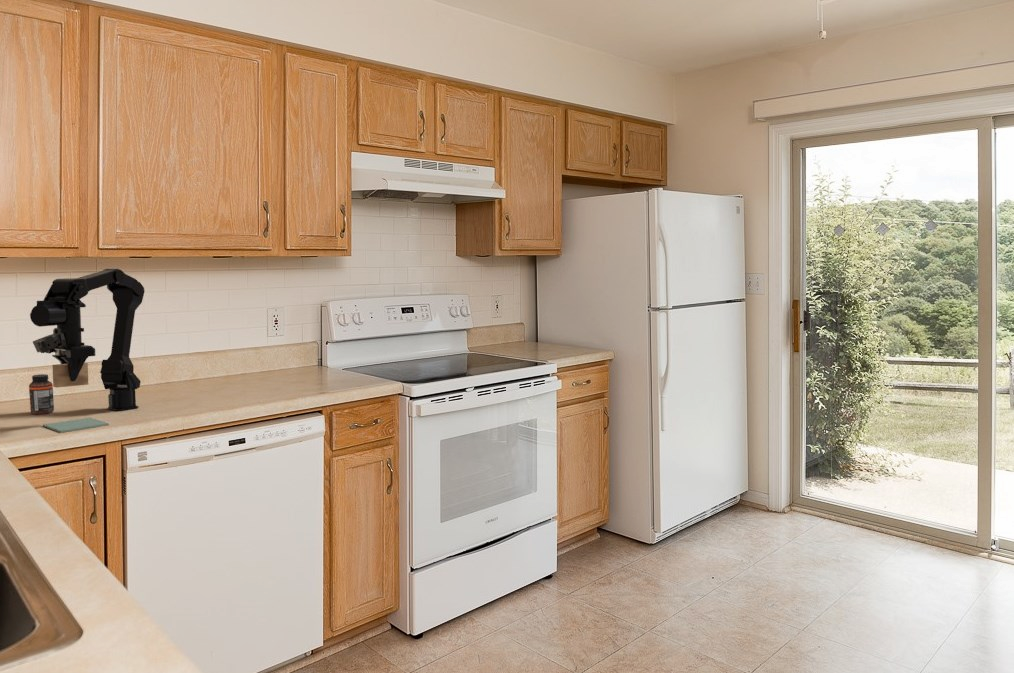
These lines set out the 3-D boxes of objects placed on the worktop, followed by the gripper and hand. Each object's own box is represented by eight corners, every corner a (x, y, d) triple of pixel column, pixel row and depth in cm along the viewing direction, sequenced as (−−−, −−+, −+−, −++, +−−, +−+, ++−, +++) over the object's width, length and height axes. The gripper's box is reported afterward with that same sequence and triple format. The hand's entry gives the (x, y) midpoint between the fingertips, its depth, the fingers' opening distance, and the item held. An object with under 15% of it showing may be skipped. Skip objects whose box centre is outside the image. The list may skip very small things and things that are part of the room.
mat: (89, 419, 209) (89, 417, 209) (108, 424, 202) (108, 423, 202) (43, 426, 200) (42, 424, 200) (61, 432, 192) (60, 430, 192)
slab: (84, 383, 206) (83, 362, 206) (88, 384, 205) (87, 363, 204) (53, 386, 200) (52, 364, 200) (56, 387, 199) (56, 365, 198)
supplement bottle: (31, 411, 218) (28, 374, 217) (54, 410, 221) (52, 373, 220) (30, 415, 213) (27, 377, 212) (54, 413, 216) (51, 375, 215)
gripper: (23, 324, 201) (25, 380, 202) (49, 327, 189) (51, 387, 190) (67, 322, 209) (69, 376, 211) (95, 325, 198) (97, 382, 199)
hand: (71, 380), depth 202 cm, fingers closed on slab, 2 cm apart
